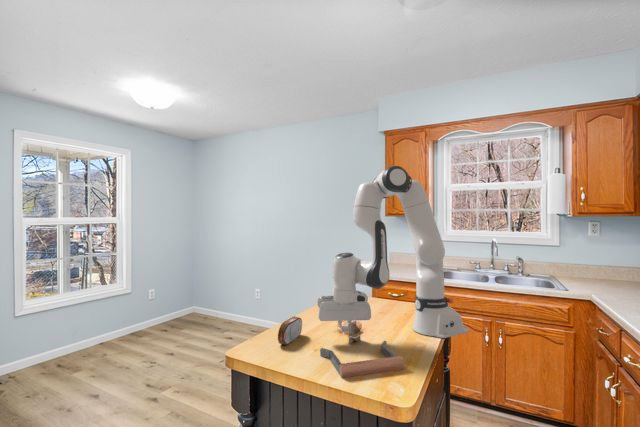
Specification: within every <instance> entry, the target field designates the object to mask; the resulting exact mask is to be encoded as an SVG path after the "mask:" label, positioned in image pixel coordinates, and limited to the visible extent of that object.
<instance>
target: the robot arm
mask: <svg viewBox="0 0 640 427" xmlns="http://www.w3.org/2000/svg"><path fill="white" fill-rule="evenodd" d="M393 196H396V197H397V198H398V199H399V201H400V202H401V203H400V204H401V207H402V210H403V213H404V216H405V217H404V218H405V220H406V224H407V226H408V229H409V230H408V231H409V233H410V238H411V240H412V244H413V247H414V251H415V272H416V273H415V278H416V282H415V284H416V288H415V290H416V292H415V297H414V298H415V300H414V301H415V304H414V305H415V316H414V321H413V325H412V330H413V331H414V332H416V333H418V334H421V335H424V336H430V337H431V336H432V337H437V338H442V339H446V338H451V337H455V336H460V335H463V334H468V333H470V329H469V328H468V327H467V326H466V325H465V324H464V323H463V318H462V316H461V314H459V312H458V311H456V310H455V309H454V308H452V307H451V306H450V305H449V304H453V303H454V299H453V298H450V297H446V296H445V274H444V258H445V255H446V248H445V246H444V242H443V240H442V236H441V234H440V231H439V230H440V229H439V227H438V226H437V222H436V219H435V216H434V213H433V210H432V206H431V204H430V201H429V198H428V195H427V193H426V190H425V188H424V187H423V185H422V183H421V182H420V181H419V180H416V179H412V176H410V175H409V173H408V172H407V170H406V169H405V168H403V167H401V166H399V165H393V166H392V165H391V166H389V167H387V168H385V169H384V170H383V171H381V172H380V173H379V174H378V175H377V176H376V177H375V178H374V179H373V181H371V182H370V181H369V182H367V181H365V182H363V183H360V185H359V186H358V189H357V190H356V194H355V197H354V199H355V200H354V204H353V211H352V219H353V222H354V223H355V225H356V227H358V229H360V230H361V231H363V232H366V233H367V234H368V235H369V236H370V237H371V240H372V241H371V242H372V260H370V261H369V260H364V259H359V258H358V257H356V256H355V255H354V253H352V252H342V253H338V254H336V255H335V257H334V258H333V264H332V278H333V286H332V295H326V296H325V295H321V296H320V297H318V298H317V307H318V319H319V321H320V322H337V323H338V325H339V328H340V332H341V333H349V324H351V323H352V322H354V321H370V320H371V318H372V309H371V305H370V303H369V297H368V295H367V294H366V293H365V292H363V291H360V290H357V287H356V284H357V285H361V286H364V287H365V286H366V287H369V288H373V289H375V290H380V289H382V288H383V287H385V286H386V285H387V284H388V282H389V280H390V269H389V264H388V241H387V237H388V236H387V230H386V224H385V223H384V222H383V221H382V218H381V210H382V208H381V207H382V201H383V199H387V198H390V197H393ZM345 321H346V322H347V324H346V325H343V322H345Z"/></svg>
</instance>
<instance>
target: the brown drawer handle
mask: <svg viewBox="0 0 640 427" xmlns="http://www.w3.org/2000/svg"><path fill="white" fill-rule="evenodd" d="M387 345H388V341H387V340H383V341H382V343H381V345H380V353H381V354H383V356H384V357H383V358H376V359H368V360H360V361H351V362H343V363H342V362H341V360H340V359H339V358H338V356H337V355H336V354H335V352H334V351H333V350H330V349H328V348H324V347H321V348H320V349H319V350H320V353H319V354H320V357H322V358H326V359H329V361H330V363H331V364H332V365H333V367H334V369H335V370H336V372H337V373H338V375H339V377H340V378H341V379H342V378H343V379H344V378H350V377H357V376H365V375H371V374H379V373H386V372H393V371H399V370H404V357H402V356H401V355H399V356H398V355H397V354H396V353H395V352H394V351H392V350H391V349H390V348H389V347H388V346H387Z"/></svg>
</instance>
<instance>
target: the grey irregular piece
mask: <svg viewBox="0 0 640 427" xmlns="http://www.w3.org/2000/svg"><path fill="white" fill-rule="evenodd" d="M364 332H365V331H362V330H361V327H359V326H358V325H357V320H354V321H352V323H351V324H349V332H348V335H347V337H348V345H350V344H352V343H353V342H357V343H358V342H359V341H361V335H363V334H364Z"/></svg>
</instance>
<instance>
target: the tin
mask: <svg viewBox="0 0 640 427" xmlns="http://www.w3.org/2000/svg"><path fill="white" fill-rule="evenodd" d="M302 330H303V320H302V318H301V317H298V316H295V315H294V316H292V317H290V318H288V319H286V320H284V321H283V322H282V323H281V325H280V327H279V329H278V332H277V341H278V344H280V345H284V346H288V345H289V344H291V343H292V342H294V341H296V340H297V339H298V338H299V337H300V335H301V333H302Z"/></svg>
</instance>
